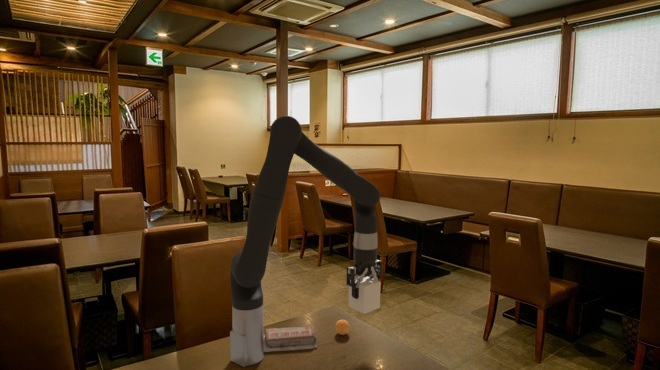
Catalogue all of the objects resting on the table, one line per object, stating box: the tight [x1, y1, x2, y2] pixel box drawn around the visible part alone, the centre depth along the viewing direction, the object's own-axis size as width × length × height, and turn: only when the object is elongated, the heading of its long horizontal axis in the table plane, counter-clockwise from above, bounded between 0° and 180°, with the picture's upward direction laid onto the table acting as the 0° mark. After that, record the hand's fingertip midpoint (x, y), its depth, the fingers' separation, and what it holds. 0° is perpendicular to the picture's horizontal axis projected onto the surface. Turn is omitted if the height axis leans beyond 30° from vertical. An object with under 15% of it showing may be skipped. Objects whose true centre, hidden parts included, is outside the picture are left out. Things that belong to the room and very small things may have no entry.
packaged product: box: [263, 325, 318, 353], centre depth 131 cm, size 18×5×10 cm
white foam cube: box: [347, 276, 382, 315], centre depth 127 cm, size 7×7×9 cm
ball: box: [334, 319, 350, 336], centre depth 137 cm, size 5×5×5 cm
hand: (364, 295), depth 127 cm, fingers closed on white foam cube, 7 cm apart
